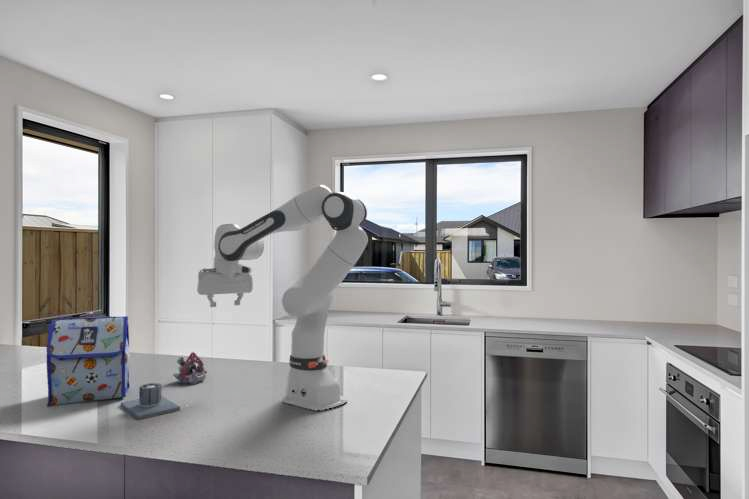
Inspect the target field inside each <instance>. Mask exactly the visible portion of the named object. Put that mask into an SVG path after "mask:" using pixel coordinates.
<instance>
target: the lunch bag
mask: <svg viewBox="0 0 749 499" xmlns="http://www.w3.org/2000/svg"><path fill="white" fill-rule="evenodd" d="M47 327H48V328H47V333H48V334H47V335H48V338H47V342H46V376H47V377H46V378H47V389H48V390H47V407H49V406H52V405H53V406H58V405H68V404H77V403H83V402H95V401H101V400H102V401H103V400H112V399H120V398H126V396H127V395H126V393H127V392H128V390H129V389H130V380H129V379H130V373H129V372H130V370H129V369H130V359H131V358H130V356H131V355H130V336H129V331H130V330H129V316H127V315H126V316H108V315H107V316H106V315H105V316H85V317H59V319H58V318H57V319H52V320H51V323H50V324H48V326H47Z"/></svg>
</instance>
